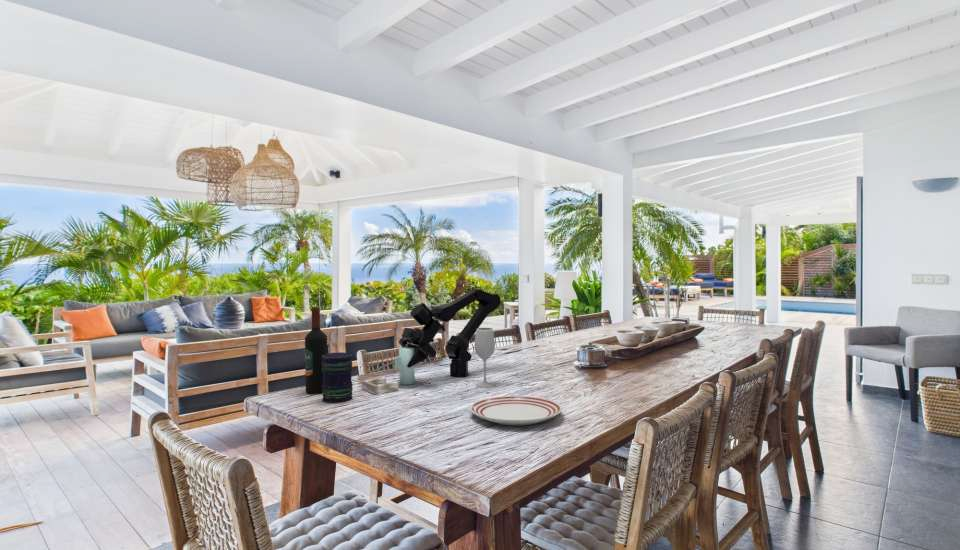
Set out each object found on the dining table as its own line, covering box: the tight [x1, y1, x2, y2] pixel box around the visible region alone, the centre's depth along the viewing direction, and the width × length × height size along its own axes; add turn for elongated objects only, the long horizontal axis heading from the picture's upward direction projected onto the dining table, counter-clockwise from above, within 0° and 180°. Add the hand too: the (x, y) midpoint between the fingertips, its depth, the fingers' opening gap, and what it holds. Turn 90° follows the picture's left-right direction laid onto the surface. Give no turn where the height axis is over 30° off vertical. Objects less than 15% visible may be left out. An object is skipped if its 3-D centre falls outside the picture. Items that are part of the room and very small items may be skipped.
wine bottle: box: [304, 306, 328, 395], centre depth 182 cm, size 8×8×30 cm
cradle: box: [361, 377, 399, 395], centre depth 184 cm, size 9×10×3 cm
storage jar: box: [322, 352, 354, 404], centre depth 172 cm, size 10×10×15 cm
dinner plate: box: [469, 395, 563, 426], centre depth 153 cm, size 27×27×3 cm
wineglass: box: [474, 327, 496, 388], centre depth 190 cm, size 8×8×21 cm
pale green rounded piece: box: [393, 346, 416, 385], centre depth 191 cm, size 8×6×13 cm
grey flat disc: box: [397, 380, 422, 389], centre depth 191 cm, size 11×11×1 cm
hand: (403, 365), depth 190 cm, fingers closed on pale green rounded piece, 5 cm apart
